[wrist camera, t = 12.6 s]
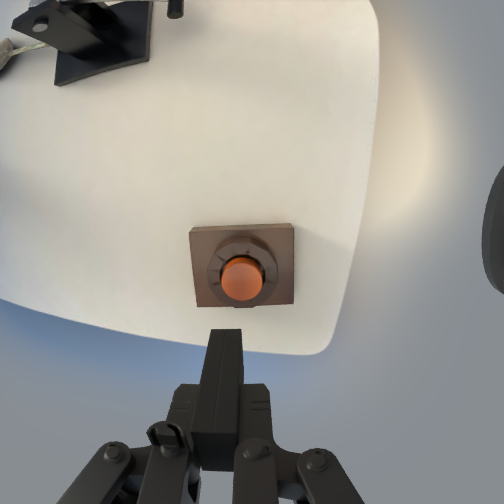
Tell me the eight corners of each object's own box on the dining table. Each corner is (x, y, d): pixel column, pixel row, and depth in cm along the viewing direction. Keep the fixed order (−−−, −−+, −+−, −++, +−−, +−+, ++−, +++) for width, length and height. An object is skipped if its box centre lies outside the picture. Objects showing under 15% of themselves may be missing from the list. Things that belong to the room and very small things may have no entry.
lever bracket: (153, -1, 22) (108, -66, 9) (149, 61, 24) (87, 6, 11) (67, 27, 22) (2, -10, 9) (59, 86, 25) (-20, 66, 11)
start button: (261, 256, 27) (262, 262, 25) (262, 292, 28) (263, 300, 26) (221, 257, 27) (219, 263, 25) (224, 293, 28) (223, 301, 26)
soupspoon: (2, 44, 21) (-9, 82, 24) (-13, 42, 18) (-25, 82, 21) (97, 19, 21) (80, 70, 23) (80, 10, 17) (61, 65, 20)
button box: (291, 223, 30) (296, 231, 26) (291, 295, 32) (296, 312, 28) (192, 227, 30) (184, 236, 26) (200, 298, 32) (194, 315, 28)
